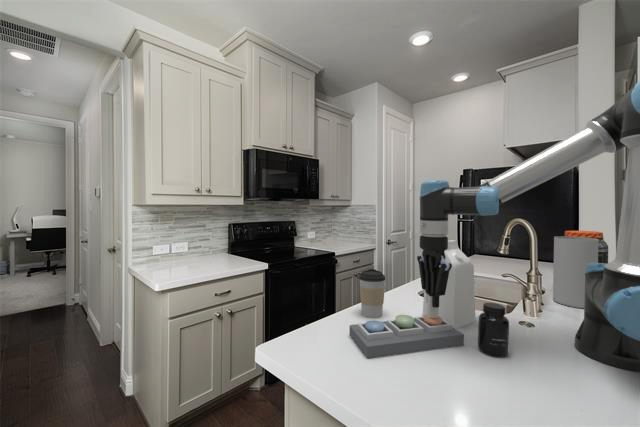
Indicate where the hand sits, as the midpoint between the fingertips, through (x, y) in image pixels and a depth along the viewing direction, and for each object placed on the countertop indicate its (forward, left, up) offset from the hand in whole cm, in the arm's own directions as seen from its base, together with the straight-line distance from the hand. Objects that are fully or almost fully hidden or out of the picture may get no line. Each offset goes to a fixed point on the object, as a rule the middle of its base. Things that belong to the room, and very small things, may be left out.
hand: (432, 316), depth 83 cm
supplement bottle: (-11, -10, -6) cm, 16 cm away
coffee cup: (+20, +10, -6) cm, 23 cm away
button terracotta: (0, 0, -2) cm, 2 cm away
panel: (0, +9, -6) cm, 11 cm away
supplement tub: (+23, -91, -6) cm, 94 cm away
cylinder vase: (+11, -69, -6) cm, 70 cm away
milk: (+10, -13, -6) cm, 17 cm away
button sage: (0, +9, -1) cm, 9 cm away
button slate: (0, +18, -2) cm, 18 cm away
